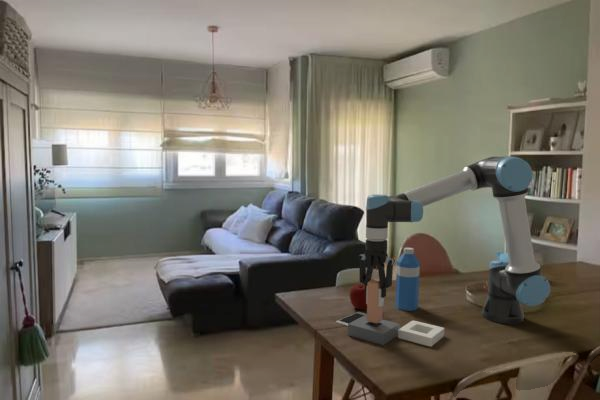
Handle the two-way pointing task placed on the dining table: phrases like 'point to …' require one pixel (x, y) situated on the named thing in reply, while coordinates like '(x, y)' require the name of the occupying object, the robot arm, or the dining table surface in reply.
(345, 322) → the smartphone
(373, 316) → the plug
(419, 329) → the white square frame
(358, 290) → the apple
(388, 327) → the grey flat block
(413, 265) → the water bottle
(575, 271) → the dining table surface
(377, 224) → the robot arm
